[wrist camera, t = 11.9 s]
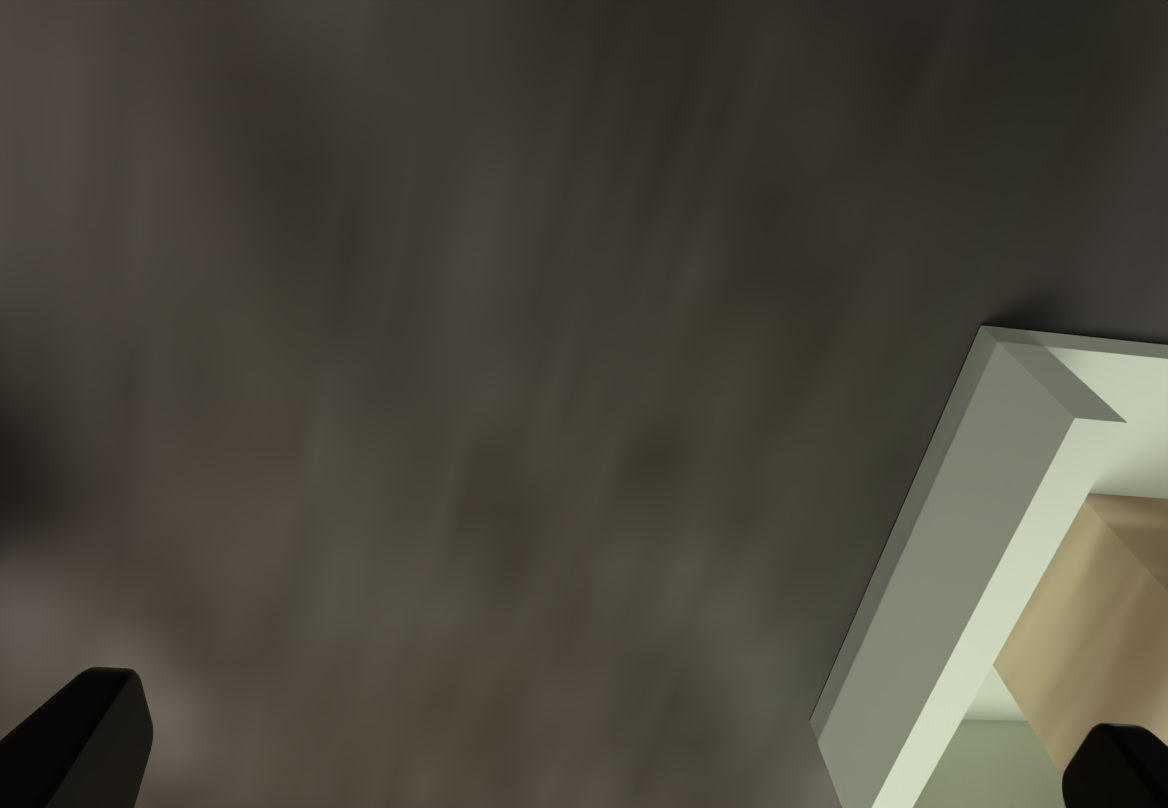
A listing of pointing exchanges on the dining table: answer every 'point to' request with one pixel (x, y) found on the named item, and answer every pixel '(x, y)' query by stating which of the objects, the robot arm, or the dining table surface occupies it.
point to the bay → (984, 569)
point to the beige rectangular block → (1096, 628)
